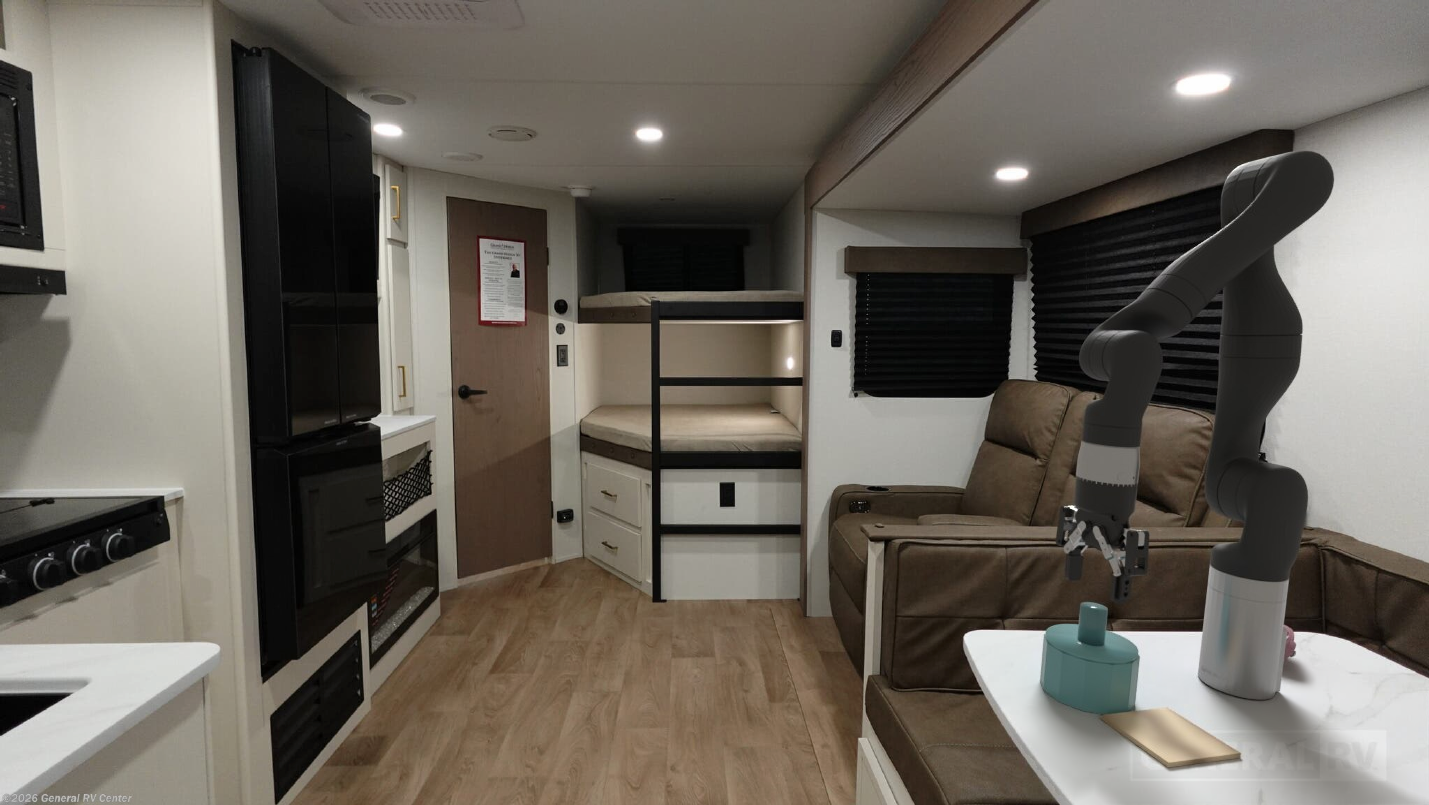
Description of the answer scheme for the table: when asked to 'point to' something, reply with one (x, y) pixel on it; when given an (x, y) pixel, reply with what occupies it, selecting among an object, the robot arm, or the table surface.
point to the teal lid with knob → (1090, 664)
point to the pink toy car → (1289, 644)
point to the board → (1170, 737)
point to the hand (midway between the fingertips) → (1094, 590)
